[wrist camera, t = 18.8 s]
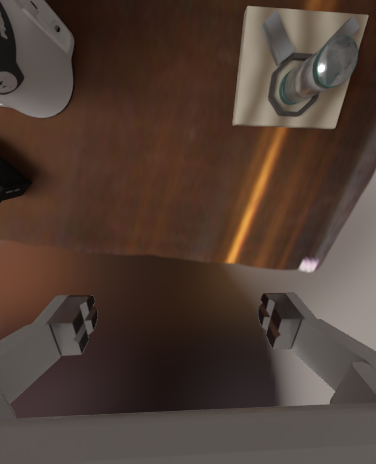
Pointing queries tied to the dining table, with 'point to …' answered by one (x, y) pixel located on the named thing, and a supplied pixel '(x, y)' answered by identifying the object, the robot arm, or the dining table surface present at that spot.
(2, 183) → the digital camera
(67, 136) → the dining table surface
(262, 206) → the dining table surface
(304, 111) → the board
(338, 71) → the teal-capped glass jar
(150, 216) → the dining table surface
